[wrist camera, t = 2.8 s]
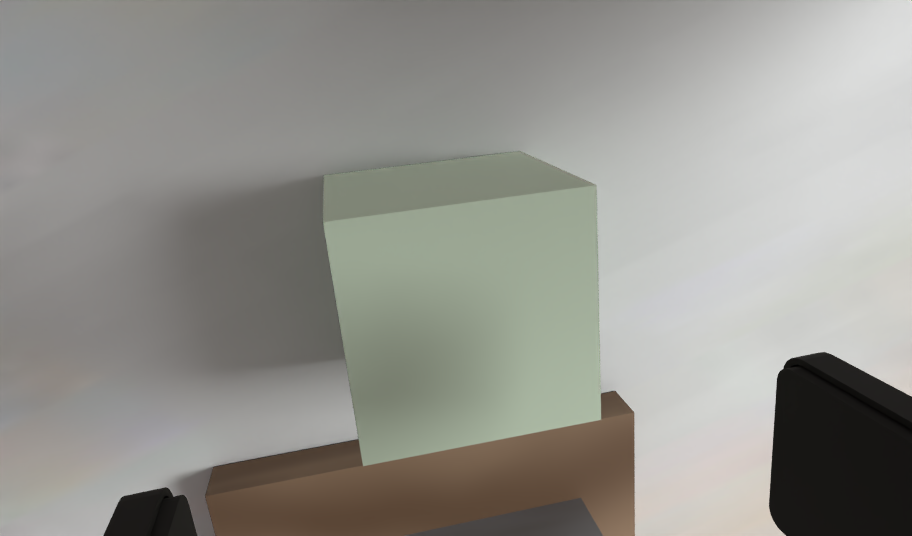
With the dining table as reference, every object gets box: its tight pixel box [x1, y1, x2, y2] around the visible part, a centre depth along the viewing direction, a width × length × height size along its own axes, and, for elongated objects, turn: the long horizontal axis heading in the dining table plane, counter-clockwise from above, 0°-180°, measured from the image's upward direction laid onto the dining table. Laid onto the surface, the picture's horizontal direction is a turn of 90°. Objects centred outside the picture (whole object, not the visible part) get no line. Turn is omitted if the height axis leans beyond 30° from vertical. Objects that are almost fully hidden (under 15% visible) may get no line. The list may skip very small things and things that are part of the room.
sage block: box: [323, 151, 601, 466], centre depth 17 cm, size 6×6×6 cm
